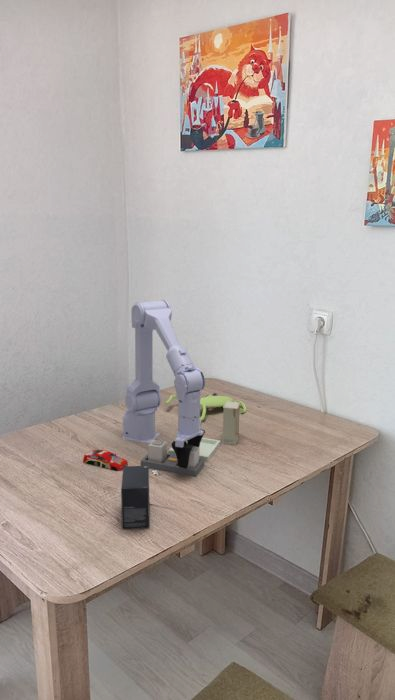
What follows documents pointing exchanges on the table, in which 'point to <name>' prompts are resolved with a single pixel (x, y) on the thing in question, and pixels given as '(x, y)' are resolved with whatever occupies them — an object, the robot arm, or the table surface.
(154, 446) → the twin plug
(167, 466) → the strip
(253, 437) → the table surface
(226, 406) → the skincare box
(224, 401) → the figurine
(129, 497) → the small box
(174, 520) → the table surface
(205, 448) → the tray
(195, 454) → the plug
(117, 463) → the race car
